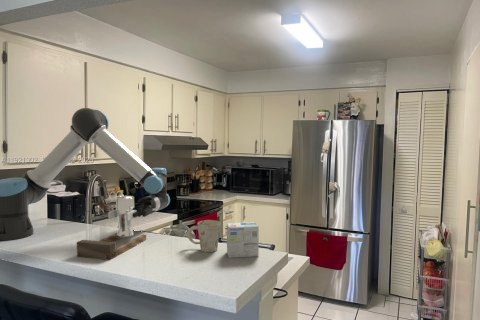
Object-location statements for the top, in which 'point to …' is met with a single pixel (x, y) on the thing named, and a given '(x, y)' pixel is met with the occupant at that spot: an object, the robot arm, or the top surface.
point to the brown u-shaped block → (105, 247)
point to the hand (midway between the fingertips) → (118, 216)
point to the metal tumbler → (124, 215)
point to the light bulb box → (242, 239)
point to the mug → (206, 235)
